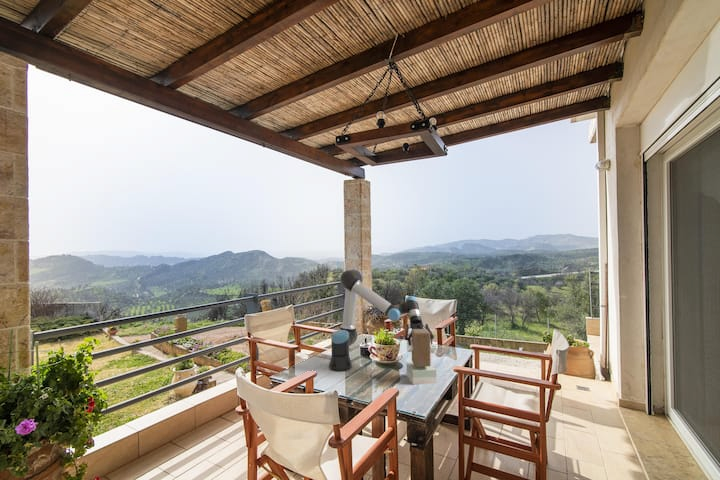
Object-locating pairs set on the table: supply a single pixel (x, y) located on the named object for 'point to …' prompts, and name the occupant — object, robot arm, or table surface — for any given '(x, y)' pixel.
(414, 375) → the tower top slab
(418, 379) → the tower base slab
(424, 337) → the wooden block
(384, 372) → the table surface
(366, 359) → the table surface
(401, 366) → the table surface
